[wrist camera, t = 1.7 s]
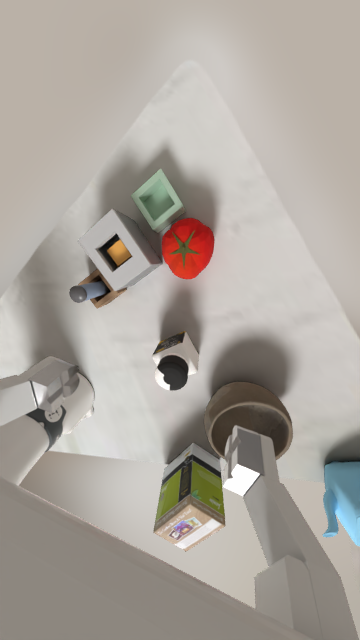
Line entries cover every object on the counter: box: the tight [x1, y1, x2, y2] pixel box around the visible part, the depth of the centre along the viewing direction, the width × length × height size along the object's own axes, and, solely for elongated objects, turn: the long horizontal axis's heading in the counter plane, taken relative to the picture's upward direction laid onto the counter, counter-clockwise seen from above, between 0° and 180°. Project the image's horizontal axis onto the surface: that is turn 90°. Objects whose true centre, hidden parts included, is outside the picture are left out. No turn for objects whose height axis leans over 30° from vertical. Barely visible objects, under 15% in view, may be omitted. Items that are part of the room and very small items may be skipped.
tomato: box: [162, 218, 214, 279], centre depth 34 cm, size 9×10×8 cm
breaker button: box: [107, 239, 133, 266], centre depth 34 cm, size 3×3×2 cm
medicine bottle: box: [152, 331, 199, 390], centre depth 39 cm, size 7×7×12 cm
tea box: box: [154, 443, 225, 551], centre depth 49 cm, size 15×10×15 cm
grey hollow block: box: [78, 209, 162, 291], centre depth 35 cm, size 8×10×9 cm
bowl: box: [204, 382, 293, 460], centre depth 43 cm, size 17×18×10 cm
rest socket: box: [131, 169, 185, 233], centre depth 34 cm, size 7×7×4 cm
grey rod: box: [69, 280, 111, 303], centre depth 37 cm, size 3×3×10 cm
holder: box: [78, 269, 127, 308], centre depth 40 cm, size 6×6×4 cm
